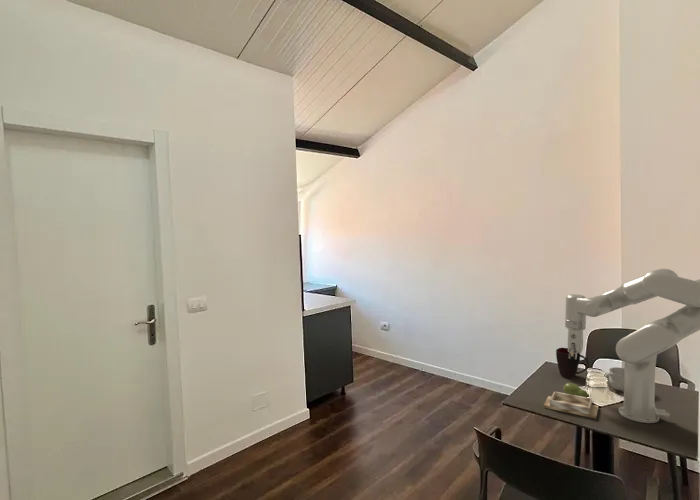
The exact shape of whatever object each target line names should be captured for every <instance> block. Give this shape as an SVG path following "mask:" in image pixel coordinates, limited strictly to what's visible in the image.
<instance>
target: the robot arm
mask: <svg viewBox="0 0 700 500" xmlns="http://www.w3.org/2000/svg"><path fill="white" fill-rule="evenodd" d="M657 297H659V298H663V299H666V300H668V301H672V302H675V303H678V304H682V305H684V306H683V307H681V308H679V309H678V310H675V311H674V312H672V313H670V314H668V315H666V316H665V317H661V318H659V319H657V320H654V321H652V322H649V323H647V324H645V325H644V326H642V327H640V328H638V329H637V330H635V331H633V332H632V333H629V334H628V335H626V336H624V337H622V338H620V339H619V340H618V341H617V342H616V345H615V352H616V355H617V357H618V359H620V360H621V361H623V362H624V367H623V368H624V392H623V405H622V406H619V407H618V413H619V415H621V416H622V417H624V418H625V419H628V420H630V421H634V422H637V423H643V424H654V423H658V422H659V421H660V417H662V418H666V419H671V418H670V417H671V413H670V412H667V411H666V410H665V409H659V408H657V407H656V404H655V391H656V388H655V387H656V386H655V385H656V365H657V357H658V355H659V354H661V353H663V352H664V351H666V350H668V349H671V348H672V347H674V346H675V345H677V344H678V343H680V342H681V341H682V340H685V339H686V338H687V337H689V336H691V335H693V334H695V333H697V332H698V331H700V279H696V280H693V279H690V278H689V279H688V278H684V277H680V276H679V275H678V274H677V273H676V272H675V271H674V270H671V269H670V268H659V269H656V270H655V269H654V270H652V271H649V272H647V273H646V274H644V275H641V276H638V277H636V278H634V279H631V280H628V281H625V282H623V283H622V284H621V285H620V286H619V287H618V288H614V289H612V290H611V291H608V292H605V293H603V294H599V295H596V296H593V297H586V296H585V295H583V294H576V293H575V294H574V293H573V294H568V295H567V296H566V297H565V314H564V315H565V318H564V320H565V322H564V324H565V325H564V327H565V328H566V329H567V348H568V352H569V358H568V367H569V368H575V369H577V362H579V363H580V362H581V357H580V355H582V352H583V350H584V330H586V329H587V328H586V324H587V323H586V322H587V317H591V318H597V317H599V316H602V315H605V314H608V313H611V312H614V311H616V310H619V309H622V308H625V307H628V306H632V305H637V304H640V303H642V302H646V301H647V300H651V299H654V298H657ZM577 370H578V369H577Z"/></svg>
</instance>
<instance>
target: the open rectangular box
mask: <svg viewBox="0 0 700 500" xmlns="http://www.w3.org/2000/svg"><path fill="white" fill-rule="evenodd" d="M543 408H545V409H550V410H554V411H559V412H563V413H568V414H573V415H577V416H581V417H586V418H592V419H597V417H598V411H599V406H598V405H595V404H593V398H591V397H589V398H586V397H581V396H576V395H571V394H565V392H560V391H553V393H552V394H551V396H550V395H548V396H547V398H546V401H544V403H543Z"/></svg>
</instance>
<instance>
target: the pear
mask: <svg viewBox="0 0 700 500" xmlns="http://www.w3.org/2000/svg"><path fill="white" fill-rule="evenodd" d="M563 393H565V394H571V395H576V396H581V397H586V398H587V397H589V398H590V394H589V393H588V392H587V391H586V390H585V389H582V388H581V387H580V386H579V385H577V384H575V383H572V382H567V383H565V384H564V386H563Z"/></svg>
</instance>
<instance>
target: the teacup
mask: <svg viewBox="0 0 700 500" xmlns="http://www.w3.org/2000/svg"><path fill="white" fill-rule="evenodd" d="M604 375H605V377H606V378H607V380H608V382H607V383H608V384H609V385H610V386H611V387H613V388H614V389H615V390H616V391H619V392H623V393H624V367H617V366H616V367H611V368H609V371H608V372H606V373H605V374H604Z"/></svg>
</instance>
